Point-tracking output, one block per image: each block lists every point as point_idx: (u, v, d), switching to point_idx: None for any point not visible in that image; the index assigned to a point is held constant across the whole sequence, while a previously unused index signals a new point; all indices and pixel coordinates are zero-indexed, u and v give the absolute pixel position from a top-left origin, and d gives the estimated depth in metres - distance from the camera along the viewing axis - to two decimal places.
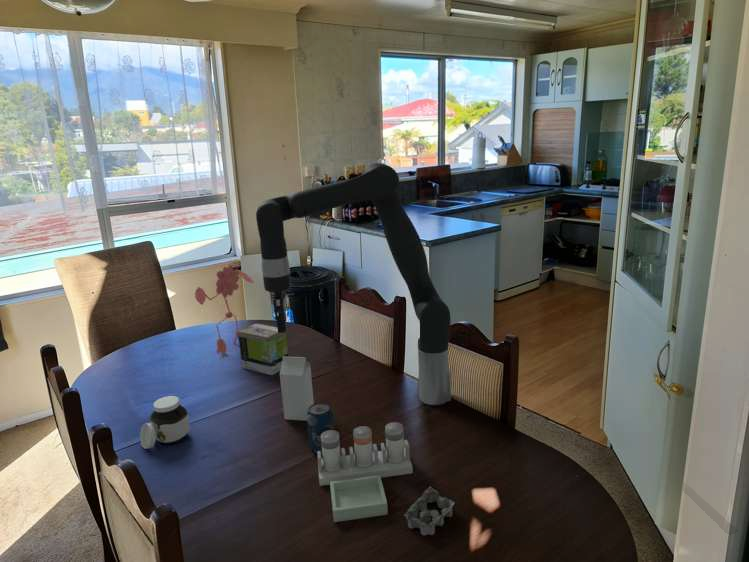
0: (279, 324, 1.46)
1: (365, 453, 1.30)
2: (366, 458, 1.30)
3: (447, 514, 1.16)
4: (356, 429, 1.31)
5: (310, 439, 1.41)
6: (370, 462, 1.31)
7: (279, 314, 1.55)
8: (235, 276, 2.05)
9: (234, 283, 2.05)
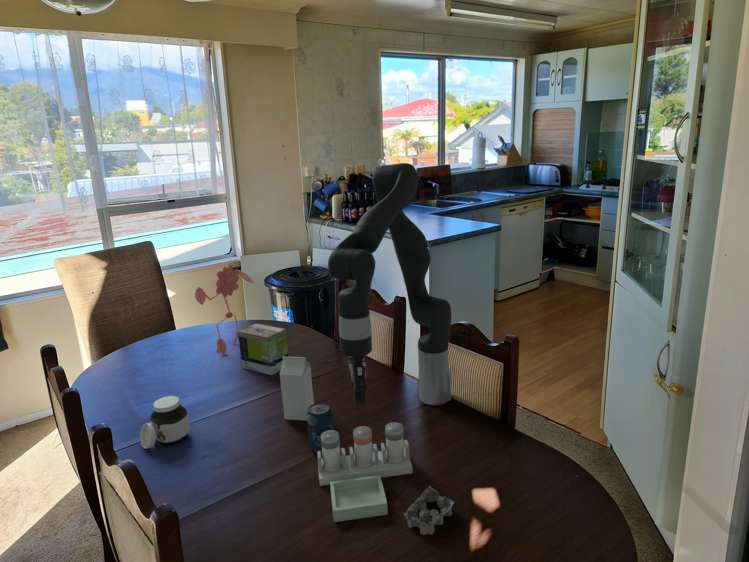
0: (358, 395, 1.22)
1: (365, 453, 1.30)
2: (366, 458, 1.30)
3: (447, 514, 1.16)
4: (356, 429, 1.31)
5: (310, 439, 1.41)
6: (370, 462, 1.31)
7: None
8: (235, 276, 2.05)
9: (234, 283, 2.05)
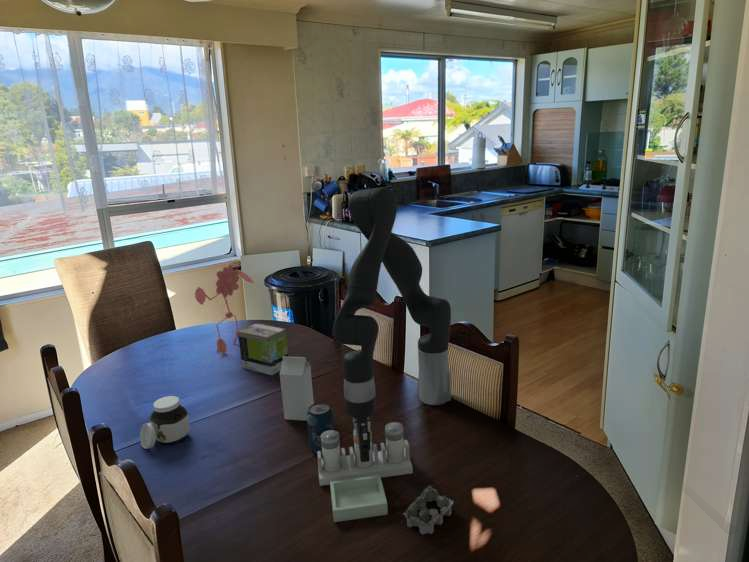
0: (363, 454, 1.28)
1: None
2: None
3: (446, 513, 1.16)
4: None
5: (310, 439, 1.41)
6: (370, 462, 1.31)
7: None
8: (235, 276, 2.05)
9: (234, 283, 2.05)
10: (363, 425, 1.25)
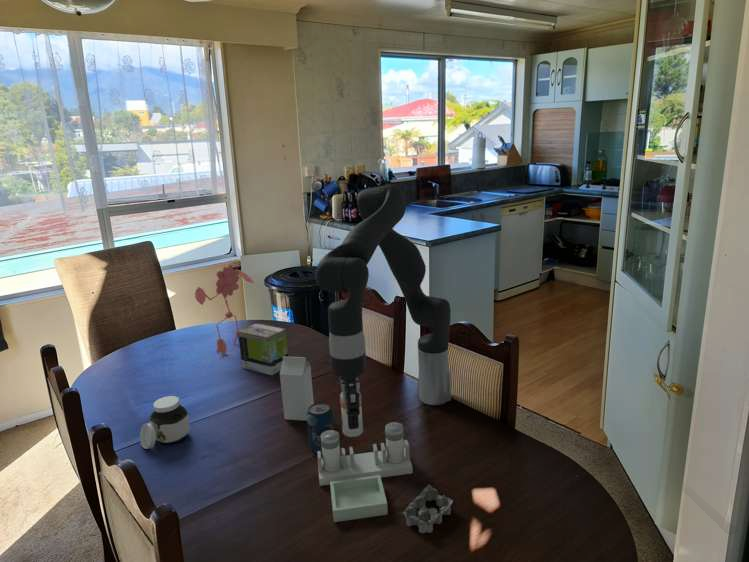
0: (351, 419, 1.12)
1: None
2: None
3: (445, 512, 1.17)
4: None
5: (310, 439, 1.41)
6: (359, 430, 1.15)
7: None
8: (235, 276, 2.05)
9: (234, 283, 2.05)
10: (351, 386, 1.09)
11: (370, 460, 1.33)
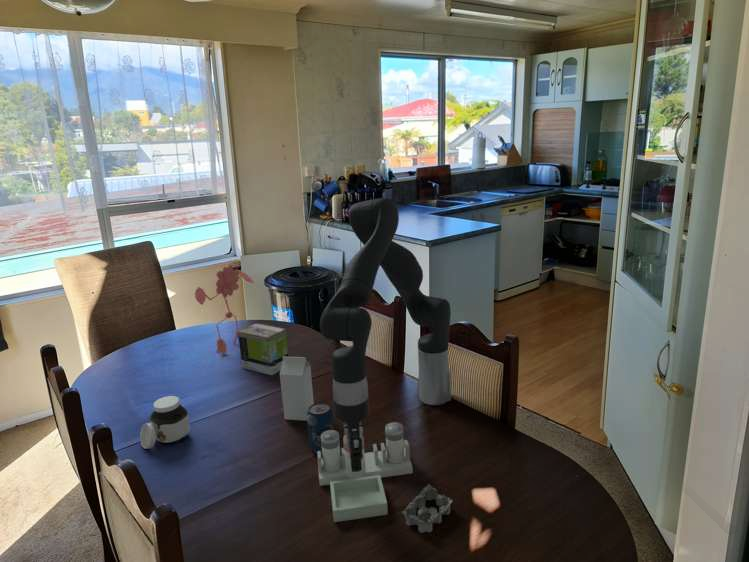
0: (354, 463, 1.15)
1: None
2: None
3: (445, 512, 1.17)
4: None
5: (310, 439, 1.41)
6: (362, 472, 1.18)
7: None
8: (235, 276, 2.05)
9: (234, 283, 2.05)
10: (354, 431, 1.12)
11: (370, 460, 1.33)
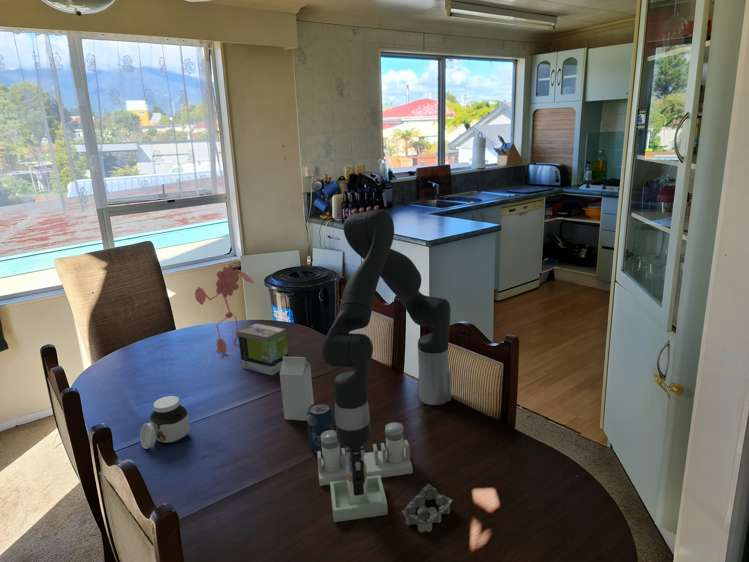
0: (356, 487, 1.15)
1: None
2: (360, 497, 1.19)
3: (445, 511, 1.17)
4: None
5: (310, 439, 1.41)
6: (364, 500, 1.20)
7: None
8: (235, 276, 2.05)
9: (234, 283, 2.05)
10: (356, 454, 1.14)
11: (370, 460, 1.33)
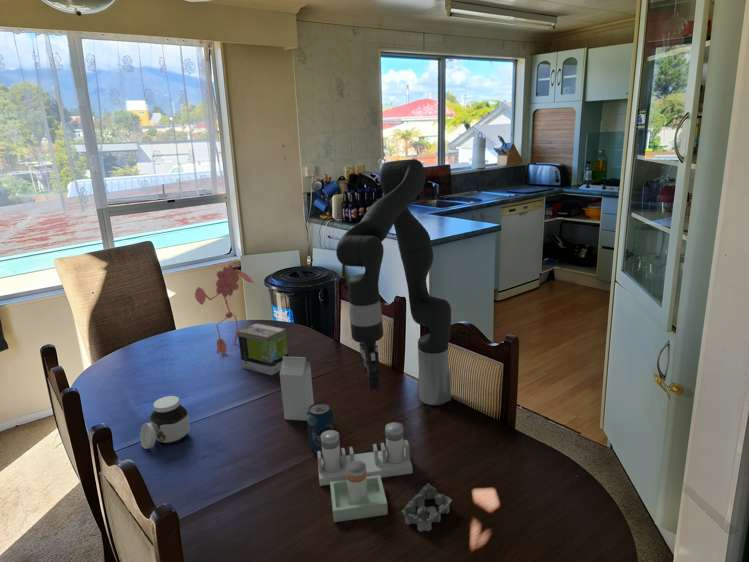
0: (372, 380, 1.23)
1: (359, 491, 1.18)
2: (360, 497, 1.19)
3: (444, 511, 1.17)
4: (350, 464, 1.20)
5: (310, 439, 1.41)
6: (364, 500, 1.20)
7: None
8: (235, 276, 2.05)
9: (234, 283, 2.05)
10: (371, 348, 1.22)
11: (370, 460, 1.33)
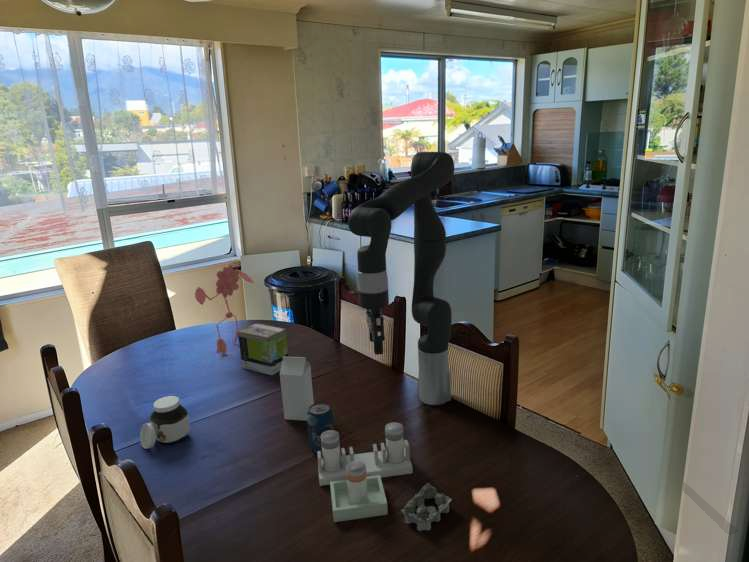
0: (377, 345, 1.31)
1: (359, 491, 1.18)
2: (360, 497, 1.19)
3: (444, 510, 1.17)
4: (350, 464, 1.20)
5: (310, 439, 1.41)
6: (364, 500, 1.20)
7: (371, 333, 1.40)
8: (235, 276, 2.05)
9: (234, 283, 2.05)
10: (376, 315, 1.30)
11: (370, 460, 1.33)
